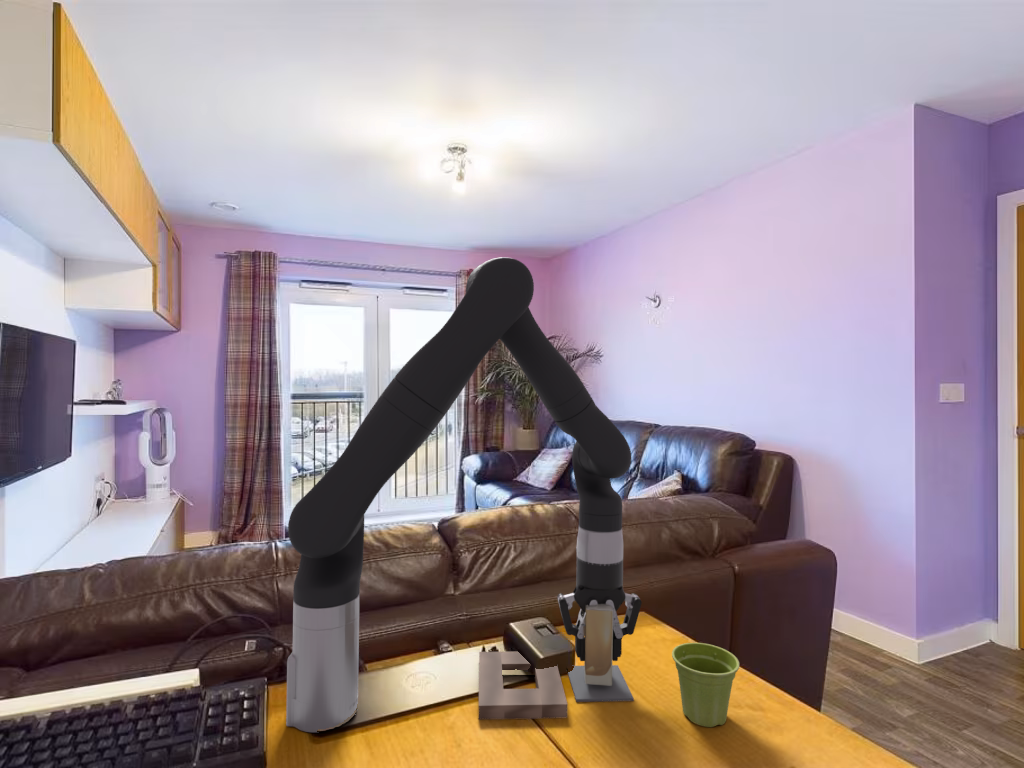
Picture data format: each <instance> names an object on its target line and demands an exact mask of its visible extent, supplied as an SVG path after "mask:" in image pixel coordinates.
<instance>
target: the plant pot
mask: <svg viewBox="0 0 1024 768" xmlns="http://www.w3.org/2000/svg"><path fill="white" fill-rule="evenodd" d="M671 656H672V660H673V661H674V663H675V668H676V670H677V676H678V683H679V691H680V699H681V707H682V713H683V714H684V715H685V716H686V717H687V718H688V719H689V720H690V722H692V723H694V724H695V725H698V726H701V727H705V728H713V727H716V726H718V725H720V726H723V725H725V724H726V721H727V717H728V712H729V704H730V698H731V693H732V692H731V691H732V686H733V682H734V679H735V677H736V674H737V672H738V671H739V669H740V661H739V659H738V657H736V656H735V655H734V654H733V653H732V652H730V651H728V650H727V649H725V648H722V647H720V646H716V645H713V644H709V643H705V642H704V643H703V642H686V643H681V644H679V645H676V646H675V647H674V648H673V649H672V652H671Z"/></svg>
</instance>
